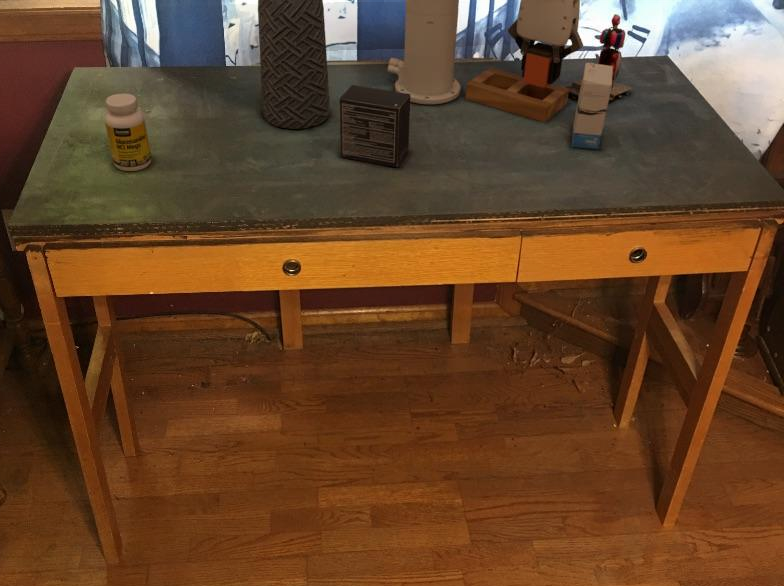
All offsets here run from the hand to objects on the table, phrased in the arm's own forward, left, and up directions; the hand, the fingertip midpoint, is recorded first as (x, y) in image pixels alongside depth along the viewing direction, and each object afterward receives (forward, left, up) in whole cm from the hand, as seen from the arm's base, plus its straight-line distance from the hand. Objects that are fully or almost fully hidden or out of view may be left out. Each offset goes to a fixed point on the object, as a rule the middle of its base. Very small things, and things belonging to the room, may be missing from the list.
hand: (539, 77), depth 157 cm
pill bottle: (-45, -59, -6) cm, 75 cm away
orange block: (0, 0, -1) cm, 1 cm away
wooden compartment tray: (-4, 0, -6) cm, 7 cm away
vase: (-34, -29, -6) cm, 45 cm away
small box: (-14, -33, -6) cm, 36 cm away
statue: (+7, +12, -6) cm, 15 cm away
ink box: (+13, -6, -6) cm, 15 cm away
